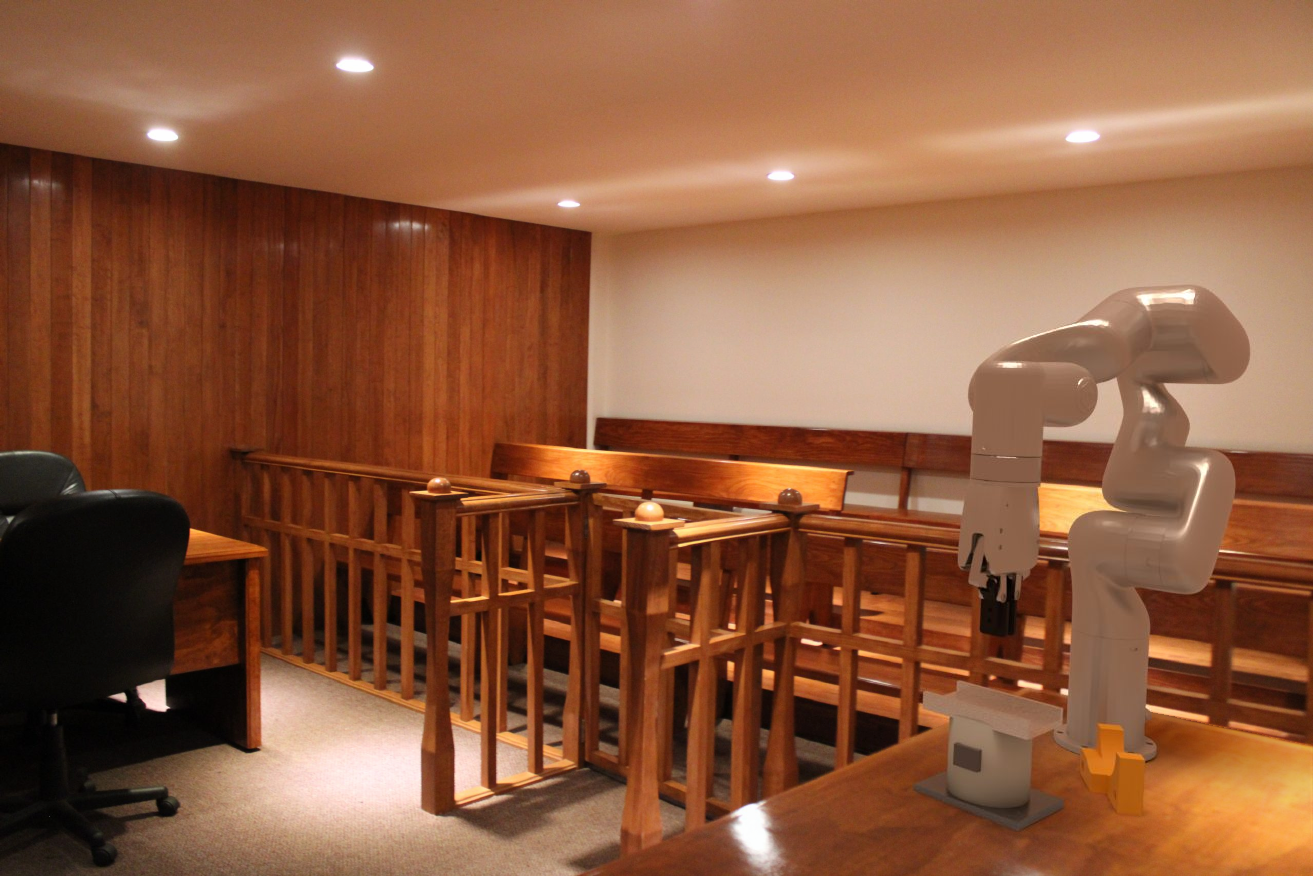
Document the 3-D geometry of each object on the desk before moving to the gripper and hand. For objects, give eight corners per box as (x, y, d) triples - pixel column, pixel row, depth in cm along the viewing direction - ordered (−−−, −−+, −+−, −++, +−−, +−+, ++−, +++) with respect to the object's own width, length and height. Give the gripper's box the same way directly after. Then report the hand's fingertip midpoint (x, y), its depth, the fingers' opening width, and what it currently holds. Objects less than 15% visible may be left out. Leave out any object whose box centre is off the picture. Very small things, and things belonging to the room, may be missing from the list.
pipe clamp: (1079, 773, 125) (1082, 722, 125) (1117, 777, 124) (1120, 725, 124) (1100, 813, 113) (1103, 756, 113) (1142, 817, 112) (1145, 760, 112)
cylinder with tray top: (961, 772, 124) (965, 678, 123) (1063, 807, 114) (1068, 706, 113) (913, 792, 117) (917, 693, 116) (1017, 831, 107) (1022, 723, 107)
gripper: (1009, 467, 121) (1002, 619, 122) (937, 470, 111) (930, 636, 112) (1070, 472, 116) (1062, 631, 117) (1000, 476, 106) (991, 651, 106)
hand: (997, 633), depth 114 cm, fingers closed
